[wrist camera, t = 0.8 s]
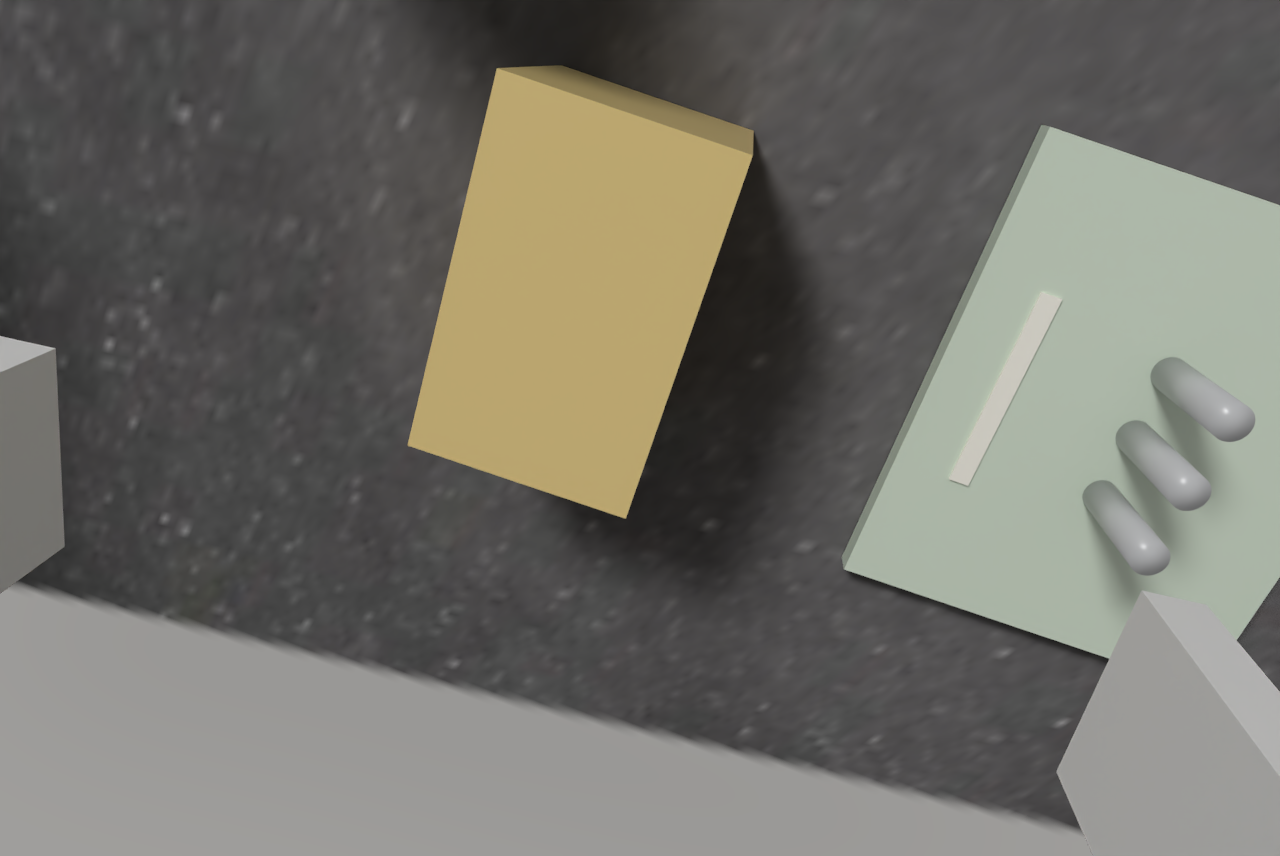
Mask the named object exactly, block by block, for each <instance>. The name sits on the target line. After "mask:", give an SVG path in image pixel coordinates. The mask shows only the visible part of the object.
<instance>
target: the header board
mask: <svg viewBox="0 0 1280 856" xmlns="http://www.w3.org/2000/svg"><path fill="white" fill-rule="evenodd" d="M842 561H843V567H844V570H847V571H850V572H853V573H856V574H859V575H862V576H865V577H868V578H871V579H874V580H877V581H880V582H883V583H886V584H889V585H892V586H895V587H898V588H901V589H904V590H907V591H910V592H913V593H916V594H919V595H922V596H925V597H927V598H930V599H933V600H936V601H939V602H942V603H945V604H948V605H951V606H954V607H957V608H960V609H963V610H966V611H969V612H972V613H975V614H978V615H981V616H984V617H987V618H990V619H993V620H996V621H999V622H1002V623H1005V624H1008V625H1011V626H1014V627H1017V628H1020V629H1023V630H1026V631H1028V632H1031V633H1034V634H1037V635H1040V636H1043V637H1046V638H1049V639H1052V640H1055V641H1058V642H1061V643H1064V644H1067V645H1070V646H1073V647H1076V648H1079V649H1082V650H1085V651H1088V652H1091V653H1094V654H1097V655H1100V656H1103V657H1106V658H1109V659H1110V656H1111V654H1112V652H1113V650H1114V648H1115V646H1116V644H1117V642H1118V639H1119V637H1120V635H1121V633H1122V631H1123V629H1124V627H1125V625H1126V622H1127V620H1128V618H1129V616H1130V614H1131V612H1132V610H1133V608H1134V605H1135V603H1136V601H1137V599H1138V597H1139V595H1140V593H1141V591H1147V592H1151V593H1156V594H1160V595H1165V596H1169V597H1174V598H1178V599H1183V600H1187V601H1192V602H1196V603H1201V604H1205V605H1207V606H1208V607H1209V608H1210V609H1211V611H1212V612H1213V613H1214V614H1215V615H1216V617H1217V618H1218V619H1219V620H1220V621H1221V623H1222V624H1223V625H1224V626H1225V627H1226V629H1227V630H1228V631H1229V632H1230V633H1231V635H1232V636H1233V637H1234V638H1235V639H1236V640H1237V639H1238V637H1239V636H1240V635H1241V633H1242V632H1243V630H1244V629H1245V627H1246V626H1247V624H1248V623H1249V621H1250V620H1251V618H1252V617H1253V615H1254V614H1255V613H1256V611H1257V610H1258V608H1259V607H1260V605H1261V604H1262V602H1263V601H1264V599H1265V598H1266V596H1267V595H1268V593H1269V592H1270V591H1271V589H1272V588H1273V586H1274V585H1275V583H1276V582H1277V580H1278V579H1279V577H1280V205H1277V204H1274V203H1271V202H1268V201H1266V200H1263V199H1260V198H1257V197H1254V196H1251V195H1248V194H1245V193H1242V192H1239V191H1236V190H1233V189H1230V188H1228V187H1225V186H1222V185H1219V184H1216V183H1213V182H1210V181H1207V180H1204V179H1201V178H1198V177H1195V176H1192V175H1190V174H1187V173H1184V172H1181V171H1178V170H1175V169H1172V168H1169V167H1166V166H1163V165H1160V164H1157V163H1154V162H1152V161H1149V160H1146V159H1143V158H1140V157H1137V156H1134V155H1131V154H1128V153H1125V152H1122V151H1119V150H1116V149H1114V148H1111V147H1108V146H1105V145H1102V144H1099V143H1096V142H1093V141H1090V140H1087V139H1084V138H1081V137H1078V136H1076V135H1073V134H1070V133H1067V132H1064V131H1061V130H1058V129H1055V128H1052V127H1049V126H1045V125H1041V127H1040V129H1039V131H1038V133H1037V135H1036V138H1035V140H1034V142H1033V144H1032V146H1031V148H1030V151H1029V153H1028V155H1027V157H1026V159H1025V161H1024V164H1023V166H1022V168H1021V170H1020V172H1019V174H1018V177H1017V179H1016V181H1015V183H1014V185H1013V187H1012V190H1011V192H1010V194H1009V196H1008V198H1007V200H1006V203H1005V205H1004V207H1003V209H1002V211H1001V213H1000V216H999V218H998V220H997V222H996V224H995V226H994V229H993V231H992V233H991V235H990V237H989V239H988V242H987V244H986V246H985V248H984V250H983V252H982V254H981V257H980V259H979V261H978V263H977V265H976V267H975V270H974V272H973V274H972V276H971V278H970V280H969V283H968V285H967V287H966V289H965V291H964V293H963V296H962V298H961V300H960V302H959V304H958V306H957V309H956V311H955V313H954V315H953V317H952V319H951V322H950V324H949V326H948V328H947V330H946V332H945V335H944V337H943V339H942V341H941V343H940V345H939V348H938V350H937V352H936V354H935V356H934V358H933V361H932V363H931V365H930V367H929V369H928V371H927V374H926V376H925V378H924V380H923V382H922V384H921V387H920V389H919V391H918V393H917V395H916V397H915V400H914V402H913V404H912V406H911V408H910V410H909V413H908V415H907V417H906V419H905V421H904V423H903V426H902V428H901V430H900V432H899V434H898V436H897V439H896V441H895V443H894V445H893V447H892V449H891V452H890V454H889V456H888V458H887V460H886V462H885V465H884V467H883V469H882V471H881V473H880V475H879V478H878V480H877V482H876V484H875V486H874V488H873V490H872V493H871V495H870V497H869V499H868V501H867V503H866V506H865V508H864V510H863V512H862V514H861V516H860V519H859V521H858V523H857V525H856V527H855V529H854V532H853V534H852V536H851V538H850V540H849V542H848V545H847V547H846V549H845V551H844V553H843V555H842Z"/></svg>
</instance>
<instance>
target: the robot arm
mask: <svg viewBox="0 0 1280 856" xmlns="http://www.w3.org/2000/svg"><path fill="white" fill-rule="evenodd" d="M63 547H65V543H64V521H63V500H62V478H61V456H60V434H59V412H58V390H57V368H56V348H51V347H47V346H42V345H38V344H33V343H29V342H24V341H20V340H15V339H11V338H7V337H2V336H0V593H2V592H3V591H4V590H6V589H7V588H8V587H10V586H11V585H13V584H14V583H15V582H17V581H18V580H19V579H21V578H22V577H23V576H25V575H26V574H28V573H29V572H30V571H32V570H33V569H34V568H36V567H37V566H39V565H40V564H41V563H43V562H44V561H45V560H47V559H48V558H50V557H51V556H52V555H54V554H55V553H56V552H58V551H59V550H61V549H62V548H63ZM1056 772H1057V774H1058V777H1059V779H1060V781H1061V784H1062V786H1063V788H1064V790H1065V793H1066V795H1067V797H1068V800H1069V802H1070V804H1071V807H1072V809H1073V811H1074V813H1075V816H1076V818H1077V820H1078V823H1079V825H1080V827H1081V830H1082V832H1083V834H1084V836H1085V839H1086V841H1087V843H1088V845H1089V848H1090V850H1091V853H1092V855H1093V856H1280V692H1279V691H1278V689H1277V688H1276V687H1275V686H1274V685H1273V683H1272V682H1271V681H1270V680H1269V679H1268V677H1267V676H1266V675H1265V674H1264V673H1263V672H1262V670H1261V669H1260V668H1259V667H1258V666H1257V664H1256V663H1255V662H1254V661H1253V660H1252V658H1251V657H1250V656H1249V655H1248V654H1247V652H1246V651H1245V650H1244V649H1243V648H1242V646H1241V645H1240V644H1239V643H1238V642H1237V641H1236V639H1235V638H1234V637H1233V636H1232V635H1231V633H1230V632H1229V631H1228V630H1227V629H1226V627H1225V626H1224V625H1223V624H1222V623H1221V621H1220V620H1219V619H1218V618H1217V617H1216V615H1215V614H1214V613H1213V612H1212V611H1211V609H1210V608H1209V607H1208V606H1207V605H1205V604H1201V603H1196V602H1192V601H1187V600H1183V599H1178V598H1174V597H1169V596H1165V595H1160V594H1156V593H1151V592H1147V591H1141V593H1140V595H1139V597H1138V599H1137V601H1136V603H1135V605H1134V608H1133V610H1132V612H1131V614H1130V616H1129V618H1128V620H1127V622H1126V625H1125V627H1124V629H1123V631H1122V633H1121V635H1120V637H1119V639H1118V642H1117V644H1116V646H1115V648H1114V650H1113V652H1112V654H1111V656H1110V659H1109V661H1108V663H1107V665H1106V667H1105V669H1104V671H1103V673H1102V676H1101V678H1100V680H1099V682H1098V684H1097V686H1096V688H1095V690H1094V693H1093V695H1092V697H1091V699H1090V701H1089V703H1088V705H1087V708H1086V710H1085V712H1084V714H1083V716H1082V718H1081V720H1080V722H1079V725H1078V727H1077V729H1076V731H1075V733H1074V735H1073V737H1072V739H1071V742H1070V744H1069V746H1068V748H1067V750H1066V752H1065V754H1064V756H1063V759H1062V761H1061V763H1060V765H1059V767H1058V769H1057V771H1056Z"/></svg>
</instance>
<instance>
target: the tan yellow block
mask: <svg viewBox="0 0 1280 856" xmlns="http://www.w3.org/2000/svg"><path fill="white" fill-rule="evenodd" d="M753 135H754V131H753V130H750V129H747V128H744V127H741V126H738V125H735V124H732V123H729V122H726V121H723V120H720V119H717V118H715V117H712V116H709V115H706V114H703V113H700V112H697V111H694V110H691V109H688V108H685V107H682V106H679V105H676V104H673V103H671V102H668V101H665V100H662V99H659V98H656V97H653V96H650V95H647V94H644V93H641V92H638V91H635V90H632V89H629V88H627V87H624V86H621V85H618V84H615V83H612V82H609V81H606V80H603V79H600V78H597V77H594V76H591V75H588V74H585V73H583V72H580V71H577V70H574V69H571V68H568V67H565V66H562V65H556V66H533V67H511V68H497V70H496V74H495V78H494V83H493V87H492V91H491V95H490V100H489V104H488V108H487V112H486V116H485V121H484V125H483V129H482V133H481V138H480V142H479V146H478V150H477V154H476V159H475V163H474V167H473V171H472V176H471V180H470V184H469V188H468V192H467V197H466V201H465V205H464V209H463V214H462V218H461V222H460V226H459V230H458V235H457V239H456V243H455V247H454V252H453V256H452V260H451V264H450V268H449V273H448V277H447V281H446V285H445V289H444V294H443V298H442V302H441V306H440V311H439V315H438V319H437V323H436V327H435V332H434V336H433V340H432V344H431V349H430V353H429V357H428V361H427V365H426V370H425V374H424V378H423V382H422V387H421V391H420V395H419V399H418V403H417V408H416V412H415V416H414V420H413V425H412V429H411V433H410V437H409V441H408V446H411V447H414V448H417V449H420V450H423V451H426V452H428V453H431V454H434V455H437V456H440V457H443V458H446V459H449V460H452V461H455V462H458V463H461V464H464V465H467V466H470V467H473V468H476V469H479V470H482V471H485V472H488V473H491V474H494V475H497V476H500V477H503V478H506V479H509V480H512V481H515V482H518V483H521V484H524V485H527V486H530V487H533V488H535V489H538V490H541V491H544V492H547V493H550V494H553V495H556V496H559V497H562V498H565V499H568V500H571V501H574V502H577V503H580V504H583V505H586V506H589V507H592V508H595V509H598V510H601V511H604V512H607V513H610V514H613V515H616V516H619V517H622V518H625V519H626V517H627V514H628V511H629V508H630V505H631V502H632V499H633V497H634V494H635V491H636V488H637V485H638V482H639V479H640V477H641V474H642V471H643V468H644V465H645V462H646V459H647V457H648V454H649V451H650V448H651V445H652V442H653V439H654V437H655V434H656V431H657V428H658V425H659V422H660V419H661V417H662V414H663V411H664V408H665V405H666V402H667V399H668V397H669V394H670V391H671V388H672V385H673V382H674V379H675V377H676V374H677V371H678V368H679V365H680V362H681V359H682V357H683V354H684V351H685V348H686V345H687V342H688V339H689V337H690V334H691V331H692V328H693V325H694V322H695V319H696V317H697V314H698V311H699V308H700V305H701V302H702V299H703V296H704V294H705V291H706V288H707V285H708V282H709V279H710V276H711V274H712V271H713V268H714V265H715V262H716V259H717V256H718V254H719V251H720V248H721V245H722V242H723V239H724V236H725V234H726V231H727V228H728V225H729V222H730V219H731V216H732V214H733V211H734V208H735V205H736V202H737V199H738V196H739V194H740V191H741V188H742V185H743V182H744V179H745V176H746V174H747V171H748V168H749V165H750V162H751V159H752V156H753Z"/></svg>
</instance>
